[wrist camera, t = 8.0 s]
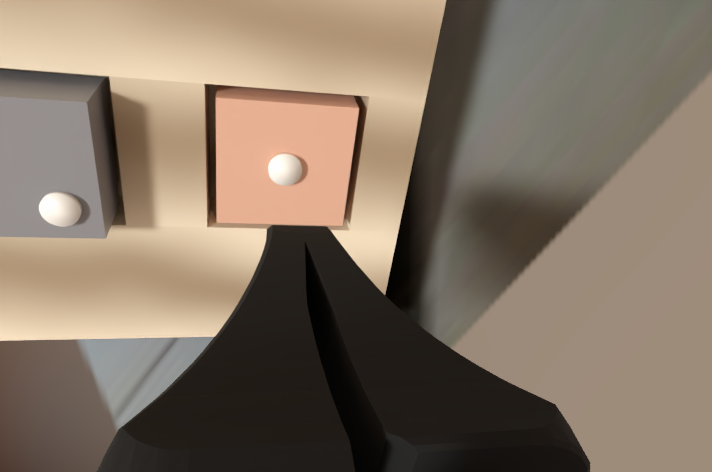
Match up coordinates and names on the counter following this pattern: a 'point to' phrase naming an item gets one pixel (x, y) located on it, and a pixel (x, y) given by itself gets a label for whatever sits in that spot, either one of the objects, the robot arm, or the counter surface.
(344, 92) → the tile panel
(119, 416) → the counter surface
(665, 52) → the counter surface
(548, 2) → the counter surface
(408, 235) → the counter surface
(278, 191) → the terracotta tile
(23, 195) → the charcoal tile
